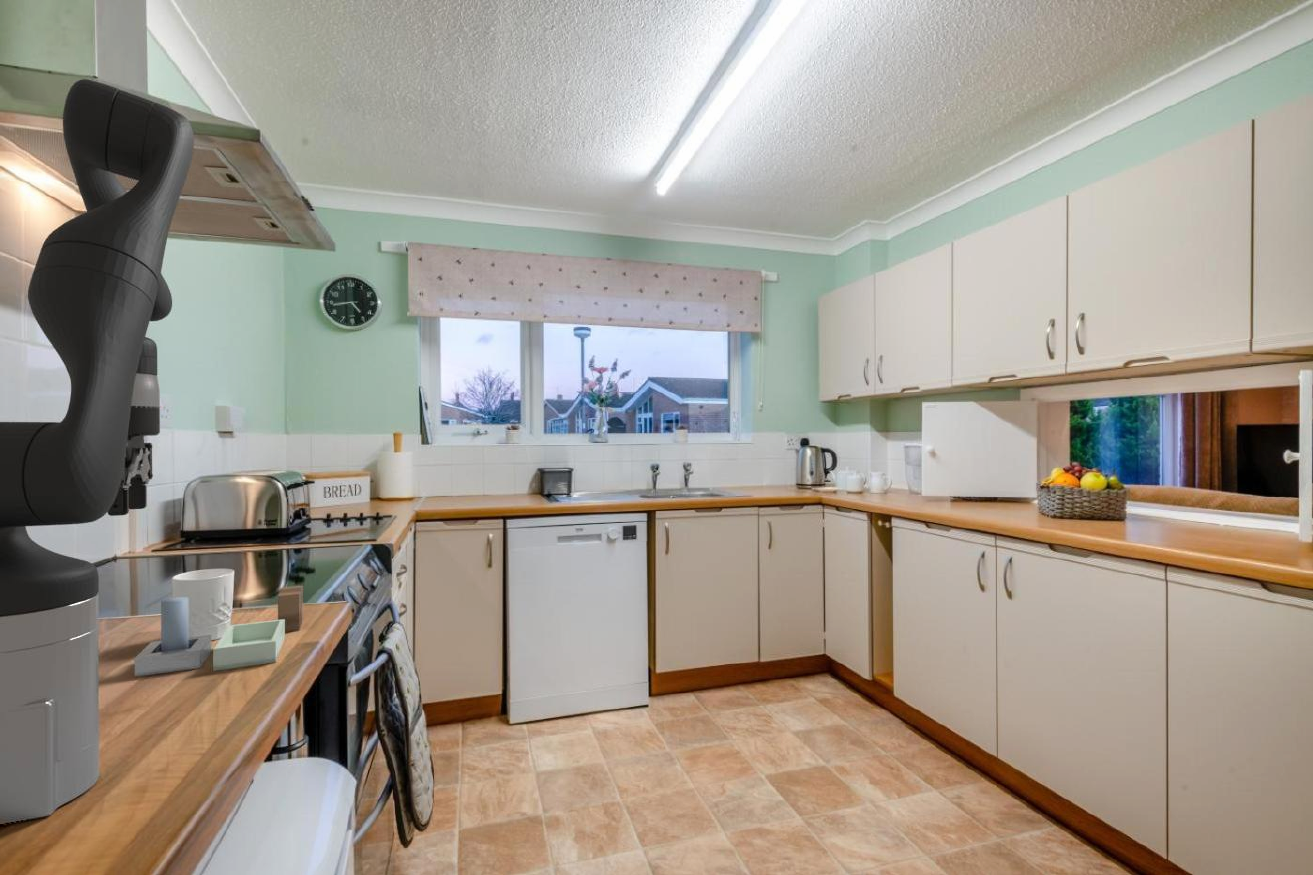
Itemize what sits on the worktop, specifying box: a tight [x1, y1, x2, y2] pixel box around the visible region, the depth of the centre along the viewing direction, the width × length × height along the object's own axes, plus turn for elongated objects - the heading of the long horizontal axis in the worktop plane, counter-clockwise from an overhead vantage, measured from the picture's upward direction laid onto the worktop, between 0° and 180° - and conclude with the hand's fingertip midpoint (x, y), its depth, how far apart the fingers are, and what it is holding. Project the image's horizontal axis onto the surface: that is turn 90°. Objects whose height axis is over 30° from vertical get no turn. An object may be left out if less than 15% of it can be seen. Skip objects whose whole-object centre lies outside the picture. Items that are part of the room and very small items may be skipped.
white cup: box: [171, 568, 235, 642], centre depth 95 cm, size 8×8×10 cm
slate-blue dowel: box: [160, 597, 189, 652], centre depth 84 cm, size 3×3×9 cm
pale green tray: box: [212, 619, 286, 672], centre depth 88 cm, size 11×7×3 cm, turn 26°
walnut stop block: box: [277, 585, 304, 633], centre depth 100 cm, size 6×3×6 cm, turn 26°
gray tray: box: [134, 635, 212, 678], centre depth 84 cm, size 7×7×2 cm
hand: (128, 511), depth 91 cm, fingers open, 7 cm apart
